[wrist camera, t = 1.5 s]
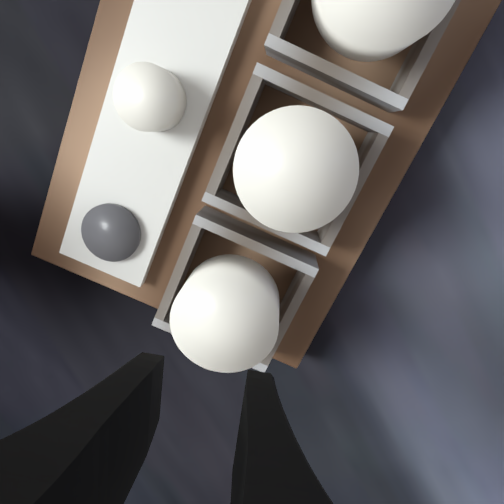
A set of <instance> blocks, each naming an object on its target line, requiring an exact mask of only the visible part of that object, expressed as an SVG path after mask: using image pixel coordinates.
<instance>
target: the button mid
mask: <svg viewBox="0 0 504 504" xmlns="http://www.w3.org/2000/svg"><path fill="white" fill-rule="evenodd" d="M358 177H359V157H358V153H357V149H356V146H355V144H354V141H353V139H352V137H351V135H350V134H349V132H348V131H347V130H346V128H345V127H344V126H343V125H342V124H341V123H340V122H339V121H338V120H337V119H336V118H334V117H333V116H332V115H330V114H328V113H326V112H325V111H322V110H320V109H317V108H314V107H309V106H301V105H294V106H286V107H281V108H278V109H275V110H273V111H271V112H269V113H267V114H265V115H263V116H262V117H260V118H259V119H258V120H257V121H255V122H254V123H253V124H252V125H251V126H250V127H249V129H248V130H247V131H246V132H245V134H244V135H243V137H242V138H241V140H240V142H239V144H238V147H237V150H236V153H235V157H234V162H233V179H234V184H235V188H236V191H237V194H238V197H239V199H240V201H241V202H242V204H243V206H244V207H245V209H246V210H247V211H248V212H249V213H250V214H251V215H252V216H253V217H254V218H255V219H256V220H258V221H259V222H260V223H262V224H263V225H265V226H267V227H269V228H272V229H274V230H277V231H282V232H288V233H301V232H308V231H312V230H315V229H318V228H320V227H322V226H324V225H326V224H328V223H329V222H331V221H332V220H334V219H335V218H336V217H337V216H338V215H339V214H340V213H341V212H342V211H343V210H344V209H345V208H346V206H347V205H348V203H349V202H350V200H351V198H352V196H353V194H354V192H355V189H356V186H357V183H358Z"/></svg>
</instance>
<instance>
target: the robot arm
mask: <svg viewBox="0 0 504 504" xmlns="http://www.w3.org/2000/svg"><path fill="white" fill-rule="evenodd" d="M163 366H164V356H161V355H155V354H149V353H143V352H142V353H141V354H139V355H138V356H136V357H135V358H133V359H132V360H131V361H129V362H128V363H126V364H125V365H124V366H122V367H121V368H119V369H118V370H117V371H115V372H114V373H112V374H111V375H110V376H108V377H107V378H105V379H104V380H103V381H101V382H100V383H98V384H97V385H95V386H94V387H92V388H91V389H89V390H88V391H86V392H85V393H83V394H82V395H80V396H79V397H77V398H76V399H74V400H72V401H71V402H69V403H67V404H66V405H64V406H63V407H61V408H59V409H58V410H56V411H55V412H53V413H51V414H49V415H48V416H46V417H44V418H42V419H40V420H39V421H37V422H35V423H33V424H31V425H29V426H27V427H25V428H23V429H21V430H19V431H17V432H15V433H14V434H12V435H10V436H8V437H5V438H3V439H1V440H0V504H124V502H125V500H126V498H127V496H128V493H129V491H130V489H131V487H132V485H133V483H134V481H135V479H136V477H137V475H138V473H139V470H140V468H141V466H142V464H143V462H144V460H145V458H146V456H147V453H148V450H149V447H150V445H151V442H152V439H153V436H154V433H155V430H156V427H157V424H158V421H159V416H160V404H161V391H162V379H163ZM231 504H333V502H332V501H331V499H330V498H329V496H328V495H327V493H326V492H325V490H324V489H323V487H322V485H321V484H320V482H319V481H318V479H317V477H316V476H315V474H314V472H313V470H312V469H311V467H310V465H309V463H308V461H307V460H306V458H305V456H304V454H303V452H302V450H301V448H300V446H299V444H298V442H297V440H296V438H295V436H294V433H293V431H292V429H291V427H290V424H289V422H288V420H287V417H286V415H285V412H284V410H283V407H282V404H281V402H280V399H279V396H278V393H277V389H276V385H275V381H274V377H273V376H272V375H271V373H265V372H259V371H253V370H248V372H247V379H246V385H245V392H244V398H243V405H242V411H241V418H240V424H239V431H238V437H237V444H236V450H235V457H234V464H233V471H232V489H231Z"/></svg>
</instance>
